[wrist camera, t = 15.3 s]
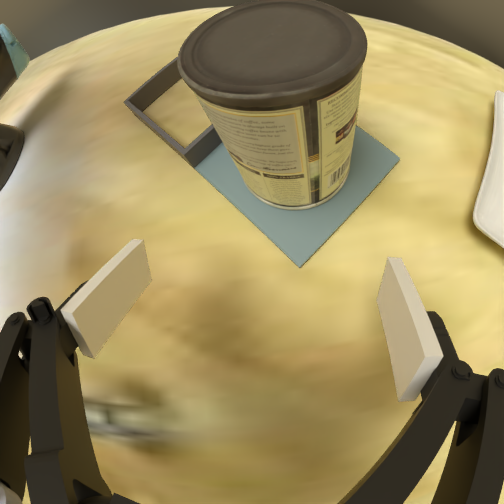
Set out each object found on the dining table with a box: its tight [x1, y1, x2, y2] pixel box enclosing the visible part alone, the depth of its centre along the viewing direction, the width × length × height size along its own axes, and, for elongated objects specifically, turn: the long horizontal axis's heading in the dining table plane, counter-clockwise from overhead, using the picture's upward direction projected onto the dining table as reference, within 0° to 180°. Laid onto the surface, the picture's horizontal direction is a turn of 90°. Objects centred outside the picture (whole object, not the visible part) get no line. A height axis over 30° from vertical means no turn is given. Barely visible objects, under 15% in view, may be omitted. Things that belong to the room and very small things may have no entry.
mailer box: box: [124, 57, 400, 268], centre depth 26 cm, size 28×14×3 cm, turn 44°
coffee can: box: [177, 0, 367, 210], centre depth 18 cm, size 10×10×14 cm
